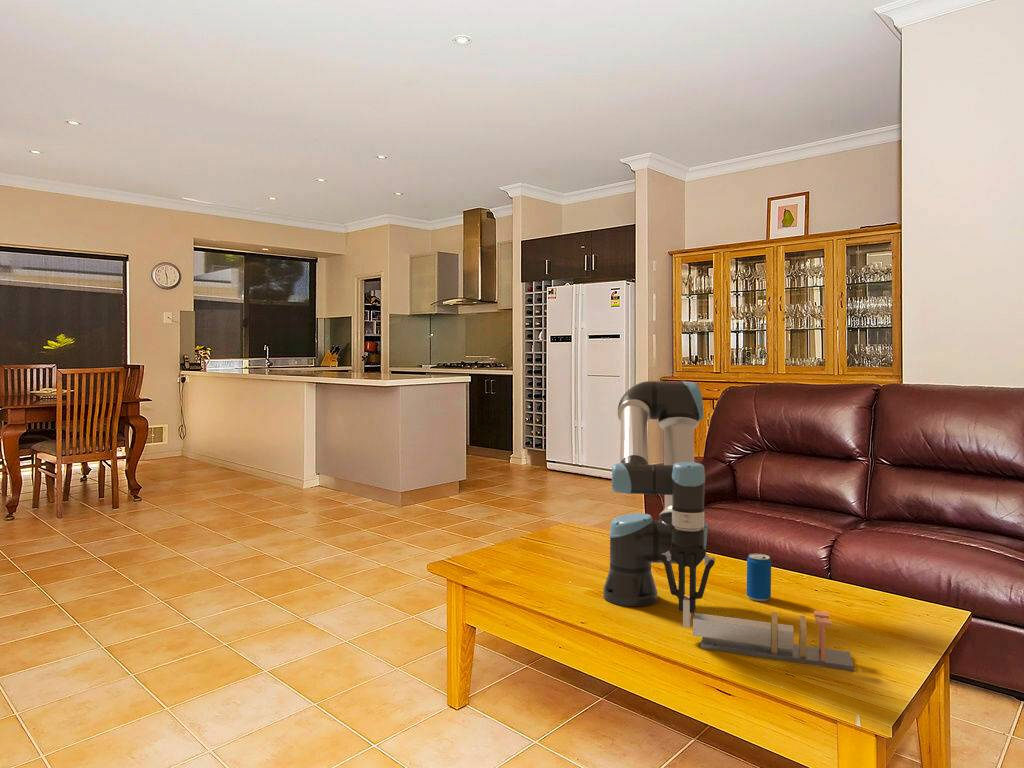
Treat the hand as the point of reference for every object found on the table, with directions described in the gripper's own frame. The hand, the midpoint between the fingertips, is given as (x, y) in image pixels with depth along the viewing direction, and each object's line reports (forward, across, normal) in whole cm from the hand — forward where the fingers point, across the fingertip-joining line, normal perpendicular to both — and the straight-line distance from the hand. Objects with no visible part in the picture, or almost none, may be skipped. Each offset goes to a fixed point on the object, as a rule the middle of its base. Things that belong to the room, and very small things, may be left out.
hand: (686, 625), depth 163 cm
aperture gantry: (+4, +30, +1) cm, 30 cm away
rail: (+4, +20, 0) cm, 20 cm away
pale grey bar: (+2, +13, 0) cm, 13 cm away
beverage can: (+4, +15, +38) cm, 41 cm away
